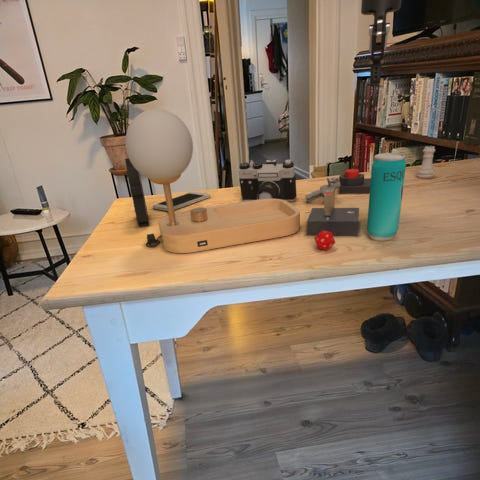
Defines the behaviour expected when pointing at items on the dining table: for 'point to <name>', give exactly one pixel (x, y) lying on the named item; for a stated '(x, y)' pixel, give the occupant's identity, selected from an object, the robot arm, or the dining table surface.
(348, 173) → the button
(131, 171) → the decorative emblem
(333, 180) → the elephant figurine
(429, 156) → the rook chess piece
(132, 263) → the dining table surface
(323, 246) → the die
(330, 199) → the grey rectangular plate
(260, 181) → the camera
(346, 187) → the box
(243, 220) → the lamp
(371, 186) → the beverage can
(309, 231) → the dial block
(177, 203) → the smartphone
